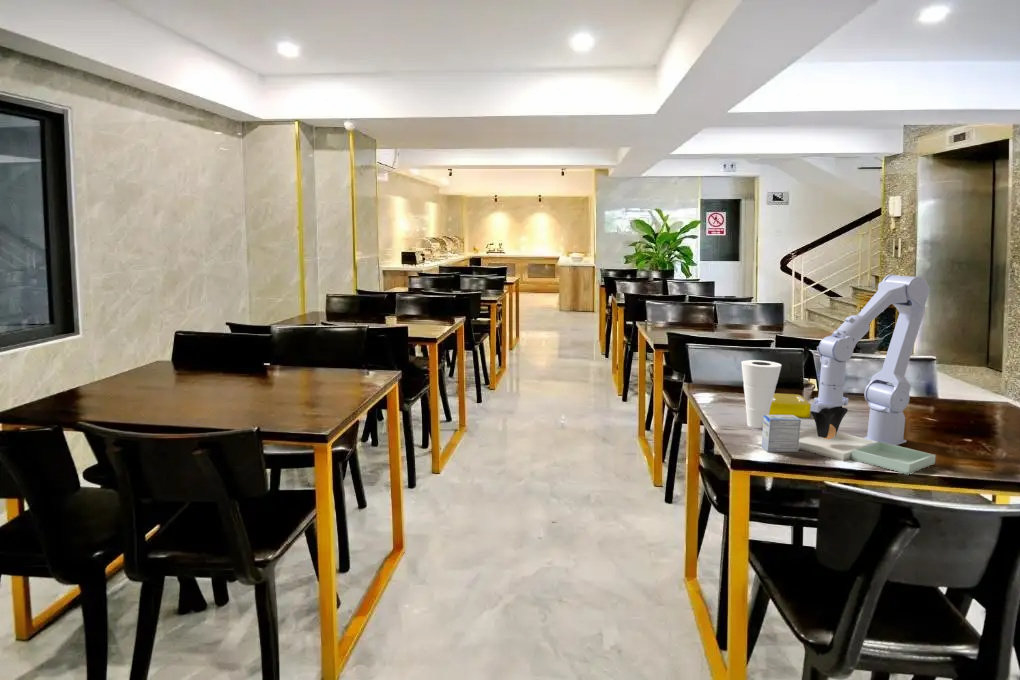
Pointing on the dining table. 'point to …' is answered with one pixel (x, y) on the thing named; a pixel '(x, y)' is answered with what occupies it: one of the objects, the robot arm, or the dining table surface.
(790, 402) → the element tile
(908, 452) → the dish
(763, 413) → the white paper towel roll
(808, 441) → the tray
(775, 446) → the medicine box
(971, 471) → the dining table surface
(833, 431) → the ball
